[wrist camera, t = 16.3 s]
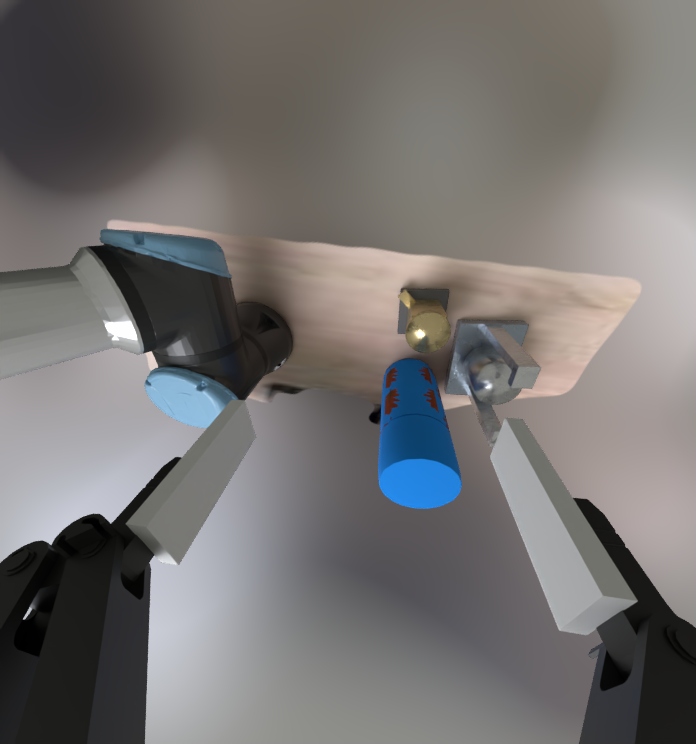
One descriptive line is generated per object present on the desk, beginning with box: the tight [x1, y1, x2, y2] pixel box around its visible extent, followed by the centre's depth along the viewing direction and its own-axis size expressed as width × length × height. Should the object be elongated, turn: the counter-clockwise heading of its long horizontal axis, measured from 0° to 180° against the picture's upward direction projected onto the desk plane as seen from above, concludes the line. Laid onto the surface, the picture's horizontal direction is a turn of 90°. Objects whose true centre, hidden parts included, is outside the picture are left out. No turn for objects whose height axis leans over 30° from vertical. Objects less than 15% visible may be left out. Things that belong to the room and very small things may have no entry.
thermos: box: [378, 359, 462, 508], centre depth 44 cm, size 11×11×25 cm
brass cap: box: [398, 289, 451, 353], centre depth 42 cm, size 11×7×9 cm, turn 47°
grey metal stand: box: [444, 320, 541, 447], centre depth 43 cm, size 11×15×16 cm
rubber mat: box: [398, 289, 449, 334], centre depth 46 cm, size 8×8×1 cm
